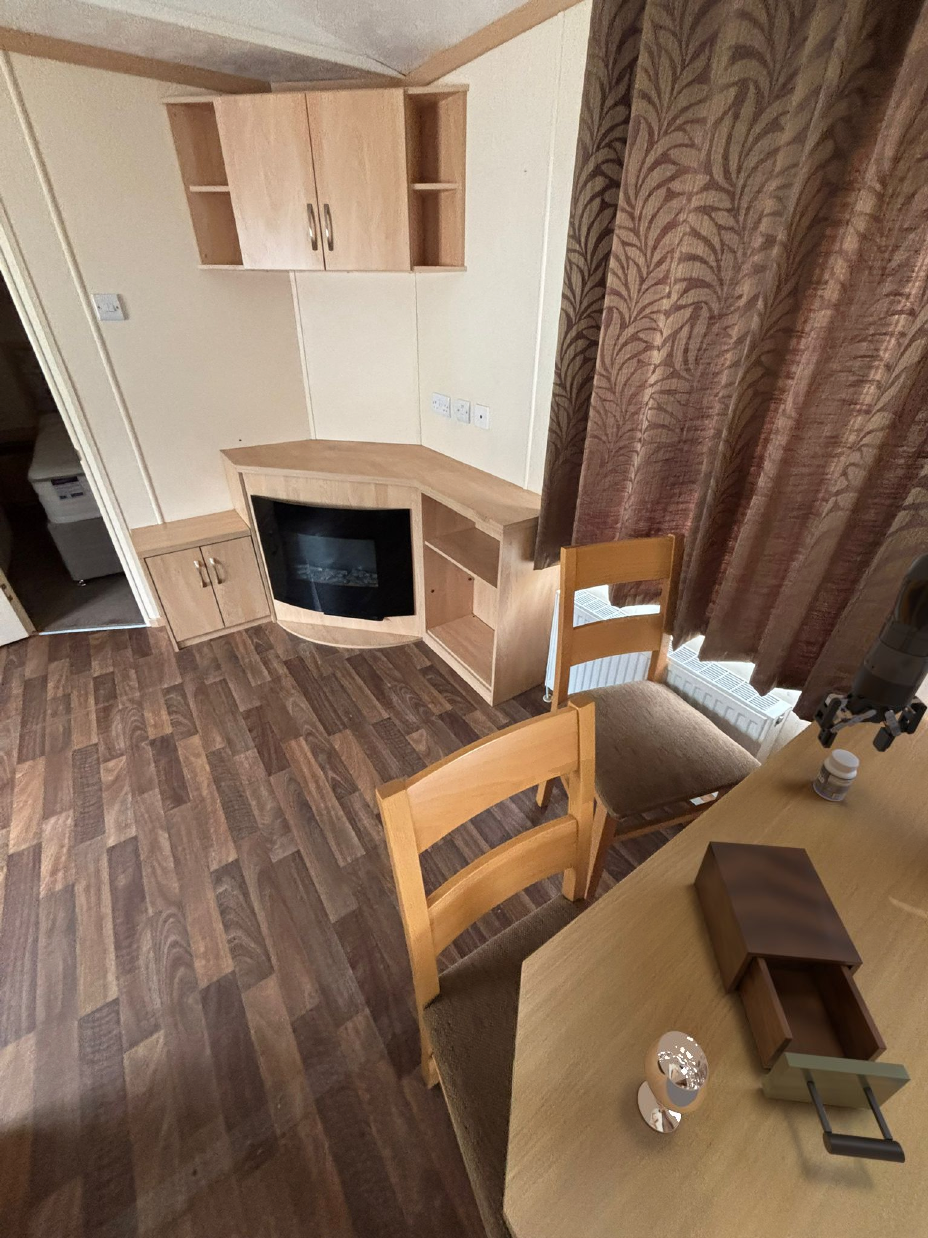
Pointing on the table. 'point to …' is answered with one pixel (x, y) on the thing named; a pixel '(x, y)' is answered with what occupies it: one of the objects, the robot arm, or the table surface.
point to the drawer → (821, 1046)
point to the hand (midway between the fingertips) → (850, 746)
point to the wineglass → (672, 1081)
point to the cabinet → (768, 909)
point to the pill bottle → (836, 775)
